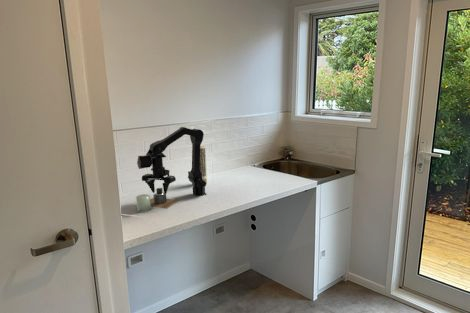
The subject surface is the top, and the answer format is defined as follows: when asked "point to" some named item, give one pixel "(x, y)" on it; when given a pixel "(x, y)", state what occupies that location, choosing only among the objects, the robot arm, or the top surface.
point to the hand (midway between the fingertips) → (159, 193)
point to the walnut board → (166, 205)
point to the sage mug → (143, 203)
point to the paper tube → (203, 163)
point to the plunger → (159, 192)
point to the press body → (160, 199)
